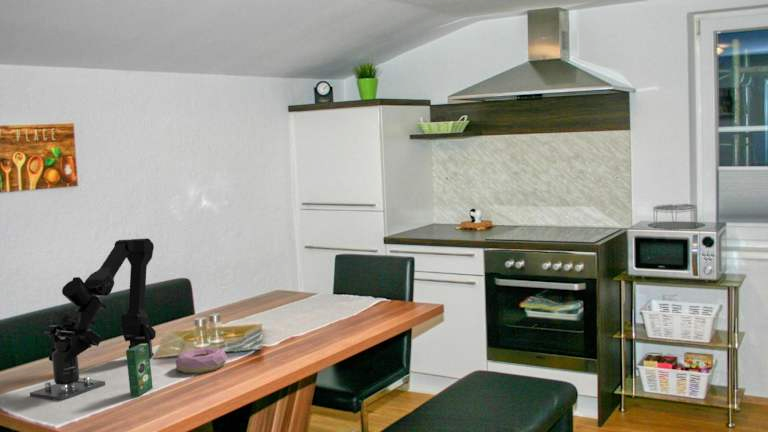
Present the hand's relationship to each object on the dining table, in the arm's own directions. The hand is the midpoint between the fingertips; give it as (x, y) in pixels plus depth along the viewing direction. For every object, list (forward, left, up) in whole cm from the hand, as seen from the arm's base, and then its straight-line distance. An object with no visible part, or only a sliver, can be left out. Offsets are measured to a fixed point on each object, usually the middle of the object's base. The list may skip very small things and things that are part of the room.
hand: (57, 361), depth 228 cm
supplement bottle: (-1, -2, -7) cm, 7 cm away
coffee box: (-24, +8, -9) cm, 27 cm away
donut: (-38, -12, -10) cm, 41 cm away
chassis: (-1, -2, -9) cm, 9 cm away
